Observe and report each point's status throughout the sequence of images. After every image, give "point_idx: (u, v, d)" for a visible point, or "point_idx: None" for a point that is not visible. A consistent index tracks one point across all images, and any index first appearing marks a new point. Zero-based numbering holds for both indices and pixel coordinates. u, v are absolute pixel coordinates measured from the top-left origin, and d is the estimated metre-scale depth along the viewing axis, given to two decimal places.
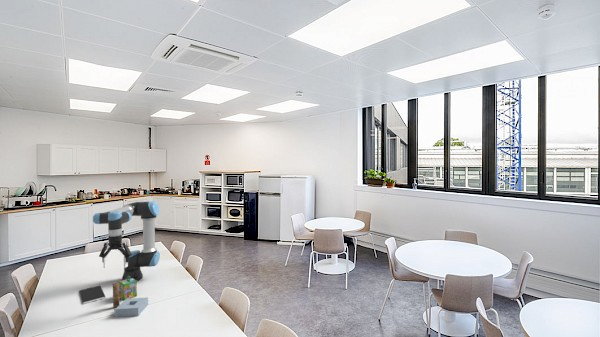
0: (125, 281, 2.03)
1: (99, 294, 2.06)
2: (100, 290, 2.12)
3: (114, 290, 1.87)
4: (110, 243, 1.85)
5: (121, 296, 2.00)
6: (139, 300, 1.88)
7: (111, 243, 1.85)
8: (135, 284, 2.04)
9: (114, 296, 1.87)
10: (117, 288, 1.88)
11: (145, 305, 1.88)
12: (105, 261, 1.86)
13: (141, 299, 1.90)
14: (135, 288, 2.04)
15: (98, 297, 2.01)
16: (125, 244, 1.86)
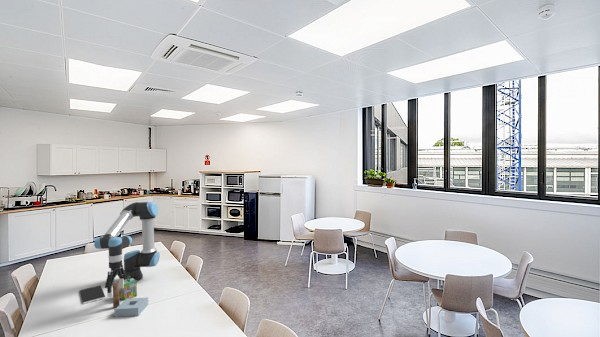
0: (125, 281, 2.03)
1: (99, 294, 2.06)
2: (100, 290, 2.12)
3: (114, 290, 1.87)
4: None
5: (121, 296, 2.00)
6: (139, 300, 1.88)
7: None
8: (135, 284, 2.04)
9: (114, 296, 1.87)
10: (117, 288, 1.88)
11: (145, 305, 1.88)
12: (120, 282, 1.95)
13: (141, 299, 1.90)
14: (135, 288, 2.04)
15: (98, 297, 2.01)
16: (109, 273, 1.82)
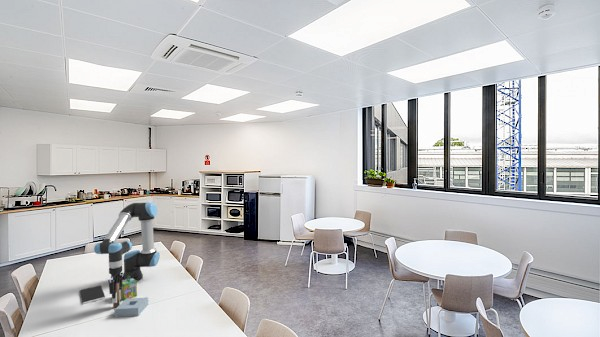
0: (125, 281, 2.03)
1: (99, 294, 2.06)
2: (100, 290, 2.12)
3: None
4: None
5: (121, 296, 2.00)
6: (139, 300, 1.88)
7: None
8: (135, 284, 2.04)
9: None
10: (117, 288, 1.88)
11: (145, 305, 1.88)
12: None
13: (141, 299, 1.90)
14: (135, 288, 2.04)
15: (98, 297, 2.01)
16: (110, 282, 1.83)
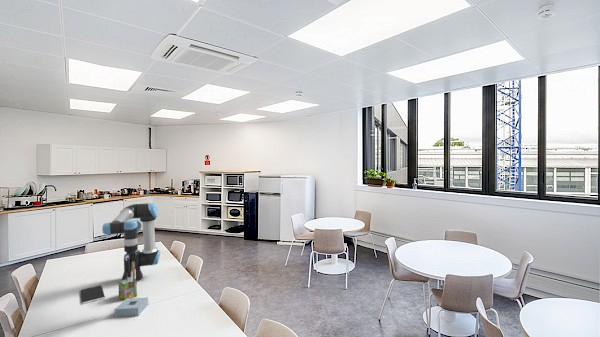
0: (125, 281, 2.03)
1: (99, 294, 2.05)
2: (100, 290, 2.12)
3: None
4: None
5: (121, 296, 2.00)
6: (139, 300, 1.88)
7: None
8: (135, 284, 2.04)
9: None
10: (132, 267, 1.83)
11: (145, 305, 1.88)
12: None
13: (141, 299, 1.90)
14: (135, 288, 2.04)
15: (97, 297, 2.01)
16: (125, 260, 1.77)
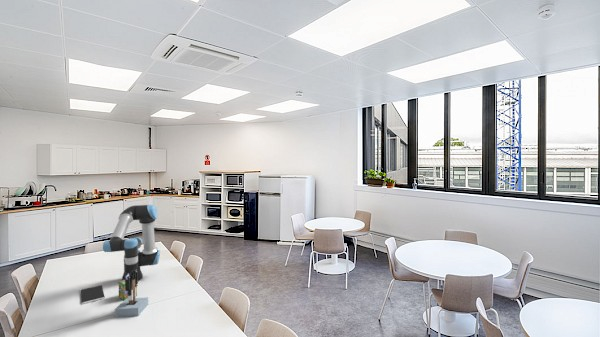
0: None
1: (99, 294, 2.05)
2: (101, 290, 2.12)
3: None
4: None
5: (121, 296, 2.00)
6: (139, 300, 1.88)
7: None
8: None
9: None
10: (133, 285, 1.83)
11: (145, 305, 1.88)
12: None
13: (141, 299, 1.90)
14: None
15: (97, 297, 2.01)
16: (126, 278, 1.78)
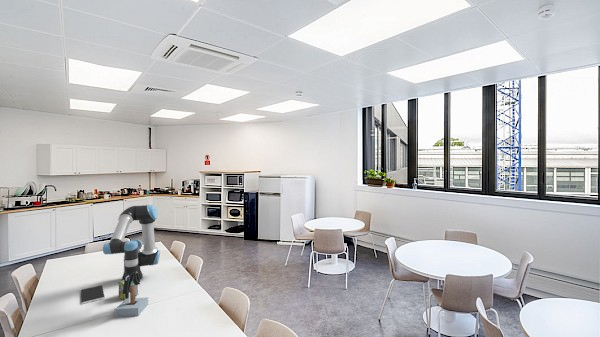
0: None
1: (99, 294, 2.05)
2: (101, 290, 2.12)
3: (130, 293, 1.82)
4: None
5: (121, 296, 2.00)
6: (139, 300, 1.88)
7: None
8: None
9: (130, 299, 1.82)
10: (133, 291, 1.83)
11: (145, 305, 1.88)
12: (135, 289, 1.89)
13: (141, 299, 1.90)
14: None
15: (97, 297, 2.01)
16: (125, 279, 1.77)
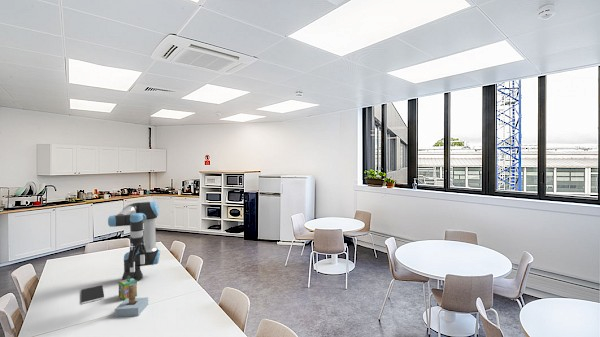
0: (125, 281, 2.03)
1: (99, 294, 2.05)
2: (101, 290, 2.12)
3: (130, 293, 1.82)
4: None
5: (121, 296, 2.00)
6: (139, 300, 1.88)
7: None
8: (135, 284, 2.04)
9: (130, 299, 1.82)
10: (133, 291, 1.83)
11: (145, 305, 1.88)
12: (141, 258, 1.96)
13: (141, 299, 1.90)
14: (135, 288, 2.04)
15: (97, 297, 2.01)
16: (131, 248, 1.82)
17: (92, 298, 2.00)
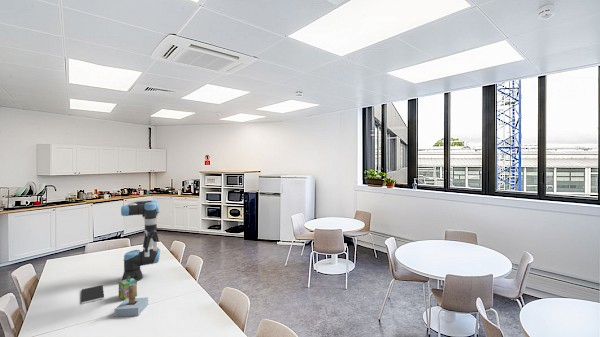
0: (125, 281, 2.03)
1: (99, 294, 2.05)
2: (101, 290, 2.12)
3: (130, 293, 1.82)
4: None
5: (121, 296, 2.00)
6: (139, 300, 1.88)
7: None
8: (135, 284, 2.04)
9: (130, 299, 1.82)
10: (133, 291, 1.83)
11: (145, 305, 1.88)
12: (154, 245, 2.09)
13: (141, 299, 1.90)
14: (135, 288, 2.04)
15: (97, 297, 2.01)
16: (146, 235, 1.95)
17: (92, 298, 2.00)
